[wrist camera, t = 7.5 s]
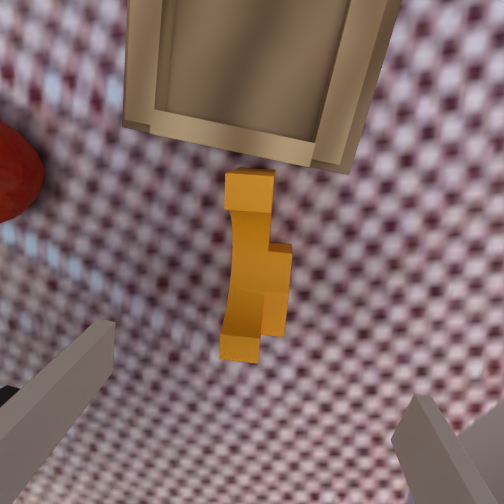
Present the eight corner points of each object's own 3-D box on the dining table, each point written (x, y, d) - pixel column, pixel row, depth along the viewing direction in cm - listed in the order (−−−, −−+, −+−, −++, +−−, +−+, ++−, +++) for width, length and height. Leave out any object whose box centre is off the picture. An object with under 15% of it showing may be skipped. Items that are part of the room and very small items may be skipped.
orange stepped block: (283, 314, 25) (284, 366, 19) (233, 309, 25) (219, 358, 19) (299, 171, 21) (307, 178, 15) (240, 167, 21) (225, 172, 15)
